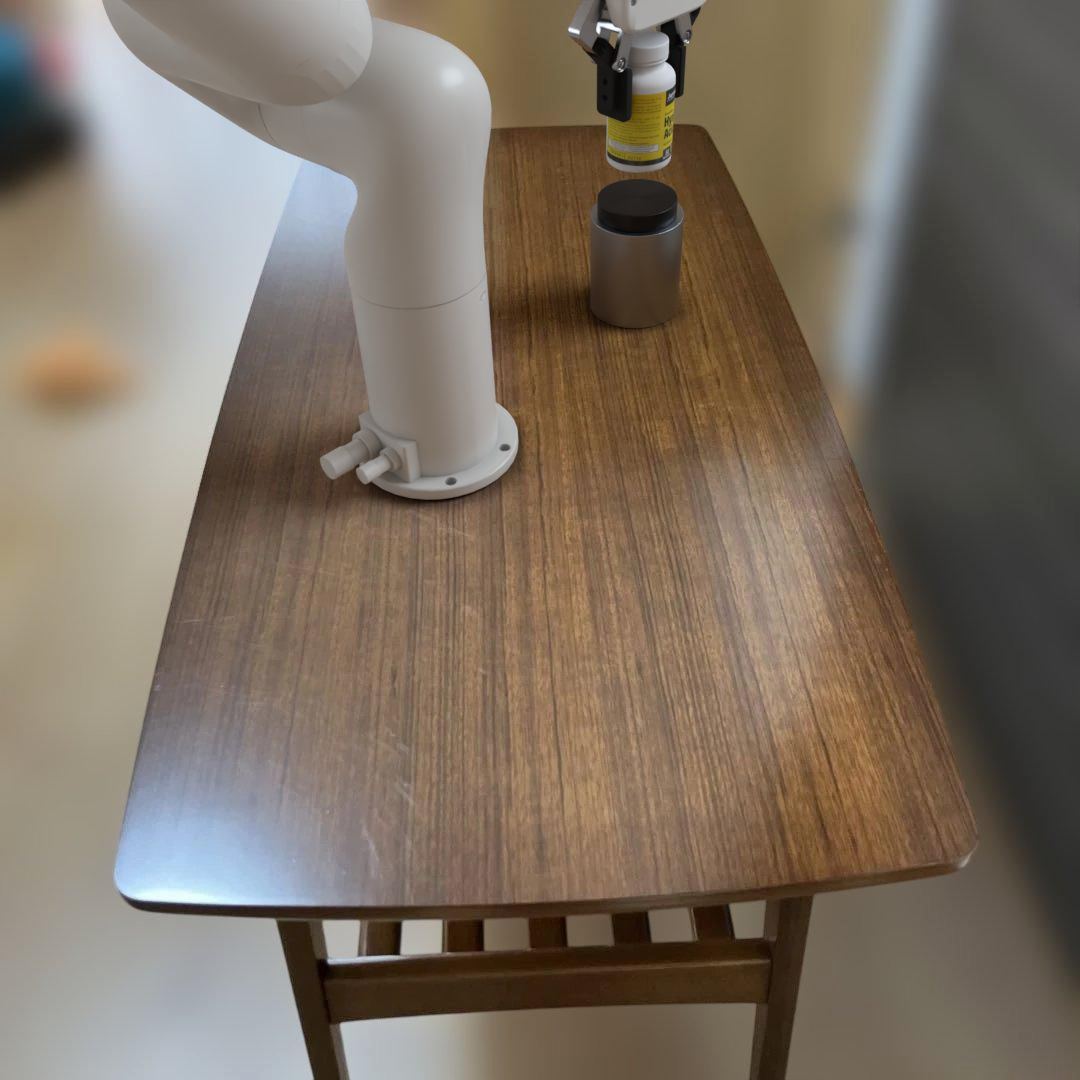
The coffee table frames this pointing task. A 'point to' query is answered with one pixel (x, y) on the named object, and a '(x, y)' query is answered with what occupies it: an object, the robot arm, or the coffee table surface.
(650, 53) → the supplement bottle
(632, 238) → the canister
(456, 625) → the coffee table surface
